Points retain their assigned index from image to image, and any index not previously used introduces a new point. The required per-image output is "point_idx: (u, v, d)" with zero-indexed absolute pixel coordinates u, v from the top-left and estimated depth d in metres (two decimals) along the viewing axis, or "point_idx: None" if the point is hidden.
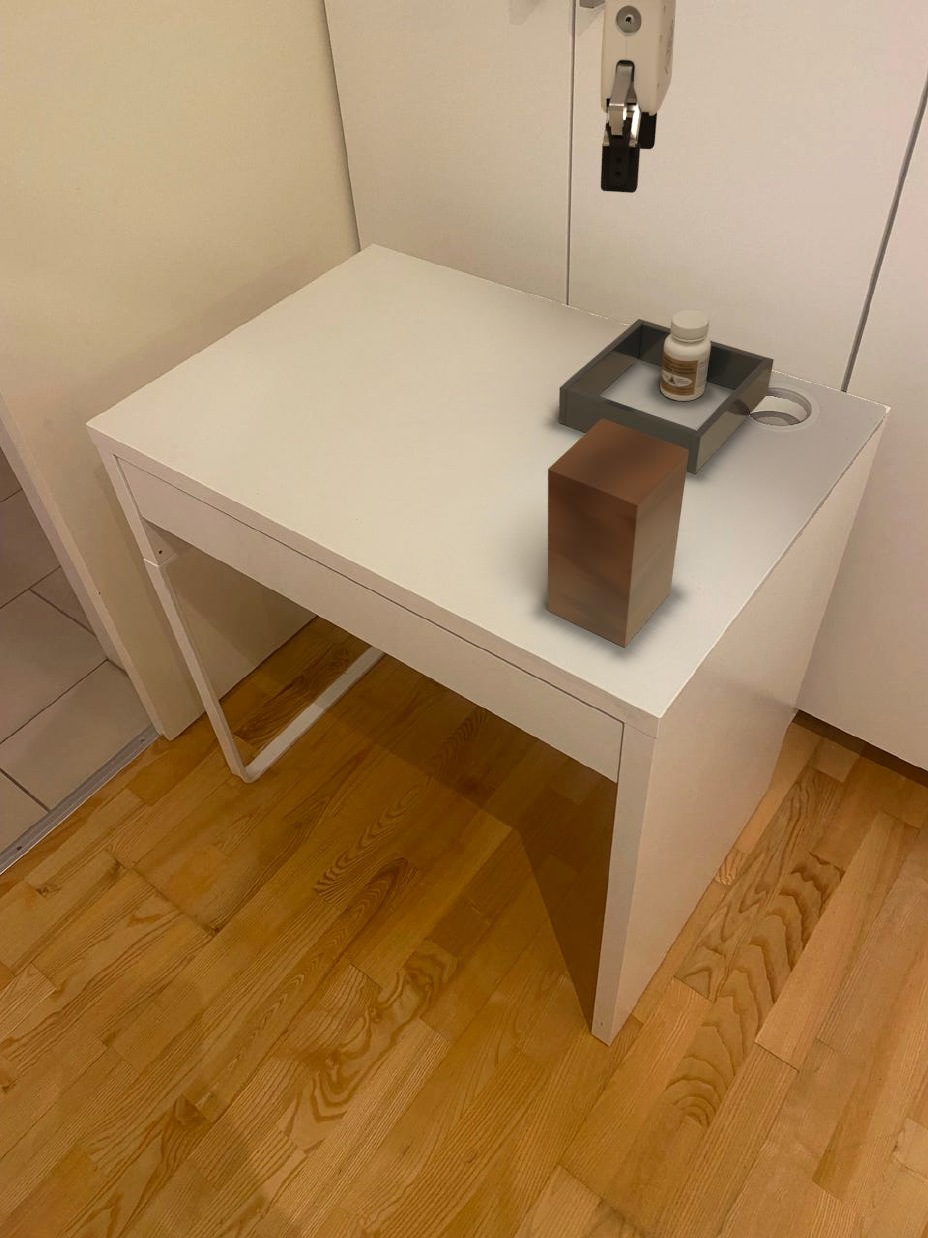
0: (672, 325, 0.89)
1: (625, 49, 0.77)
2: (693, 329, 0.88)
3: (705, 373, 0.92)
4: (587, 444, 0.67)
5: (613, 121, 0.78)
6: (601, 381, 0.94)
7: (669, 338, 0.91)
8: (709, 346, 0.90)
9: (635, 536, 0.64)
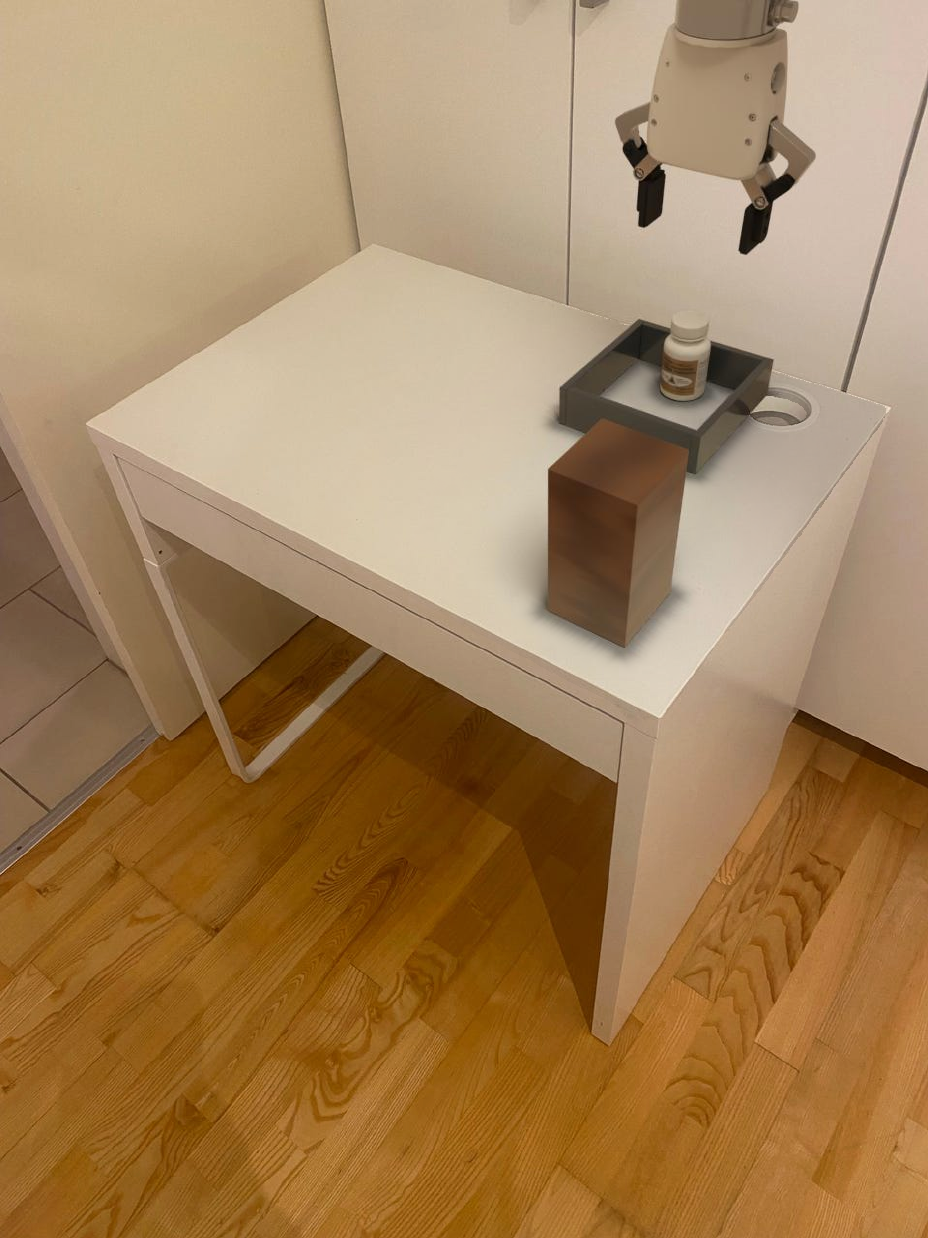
0: (672, 325, 0.89)
1: (775, 106, 0.73)
2: (693, 329, 0.88)
3: (705, 373, 0.92)
4: (587, 444, 0.67)
5: (802, 173, 0.75)
6: (601, 381, 0.94)
7: (669, 338, 0.91)
8: (709, 346, 0.90)
9: (635, 536, 0.64)
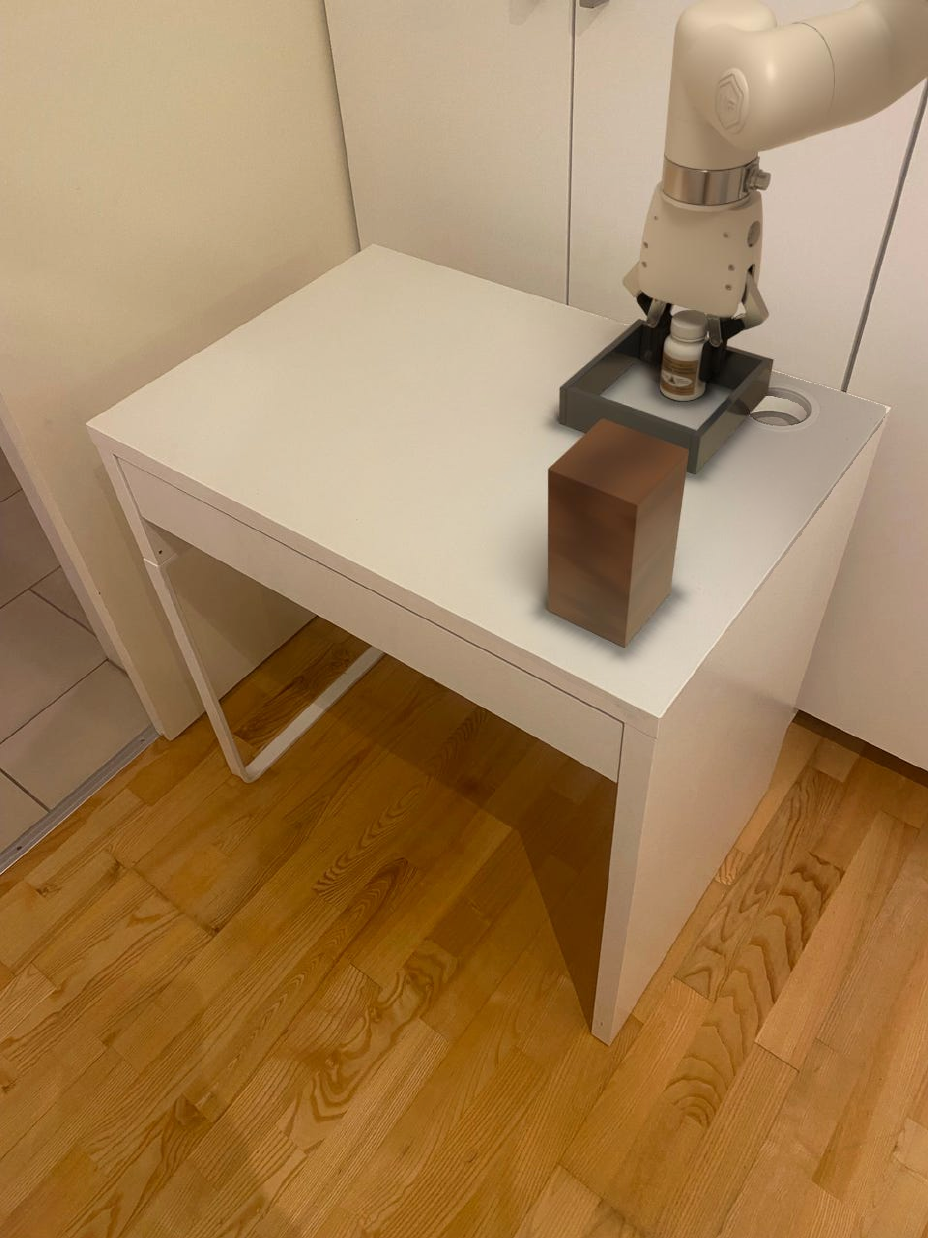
0: (672, 325, 0.89)
1: (752, 257, 0.82)
2: (693, 329, 0.88)
3: None
4: (587, 444, 0.67)
5: None
6: (601, 381, 0.94)
7: (669, 338, 0.91)
8: None
9: (635, 536, 0.64)
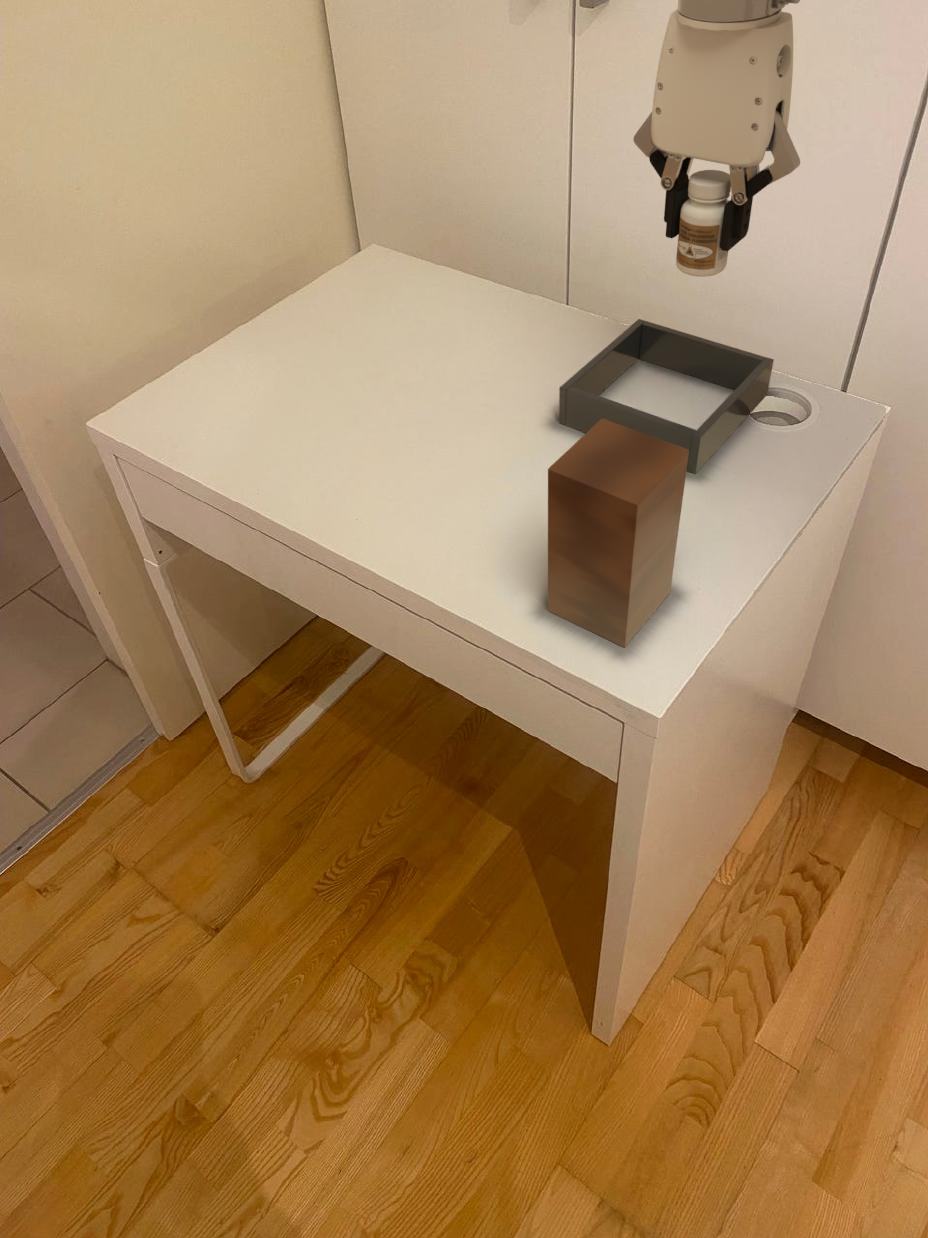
0: (690, 185, 0.80)
1: (781, 90, 0.72)
2: (714, 187, 0.78)
3: None
4: (587, 444, 0.67)
5: None
6: (601, 381, 0.94)
7: (687, 203, 0.81)
8: None
9: (635, 536, 0.64)
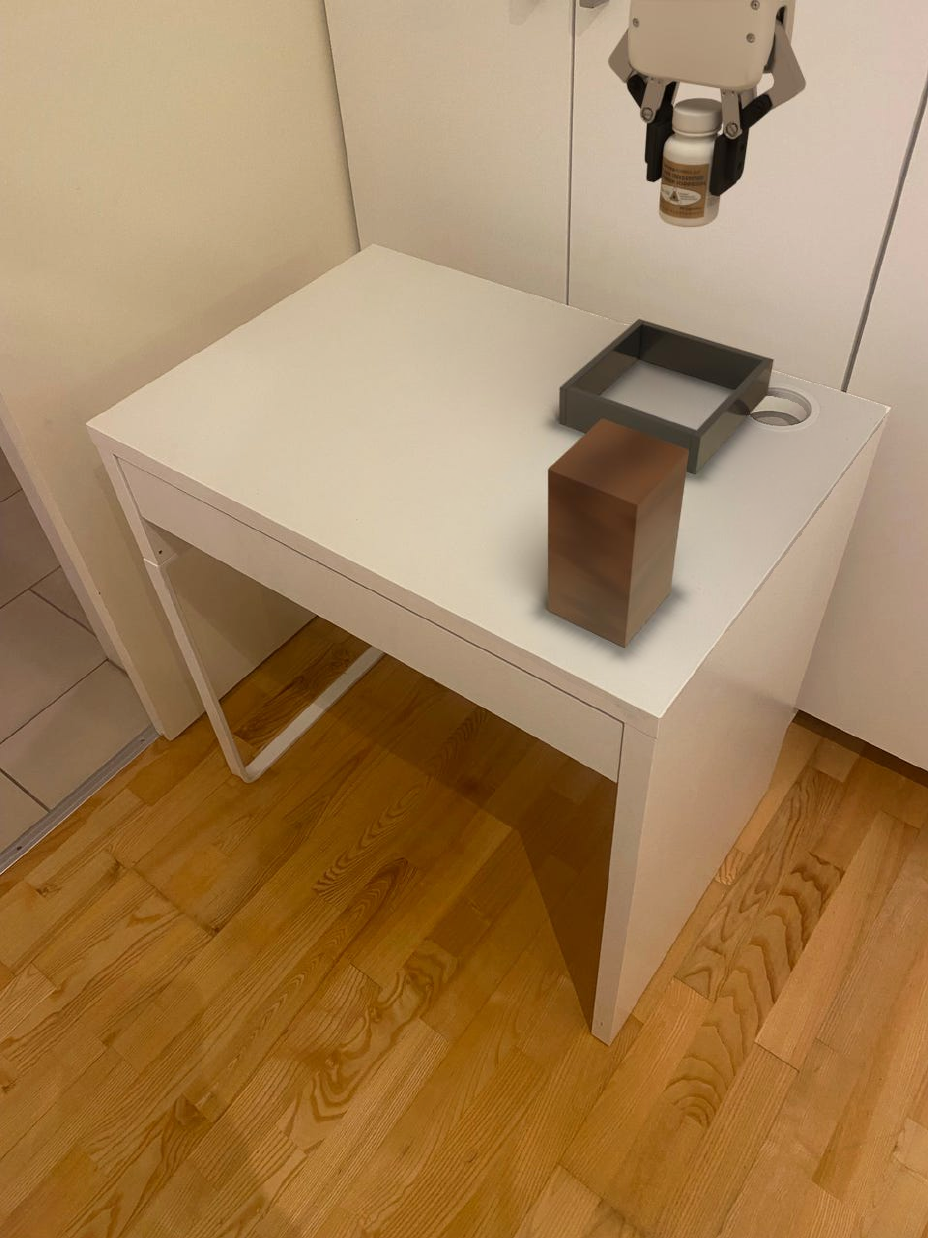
0: (674, 115, 0.67)
1: None
2: (703, 117, 0.65)
3: None
4: (587, 444, 0.67)
5: (783, 102, 0.63)
6: (601, 381, 0.94)
7: (671, 138, 0.68)
8: None
9: (635, 536, 0.64)
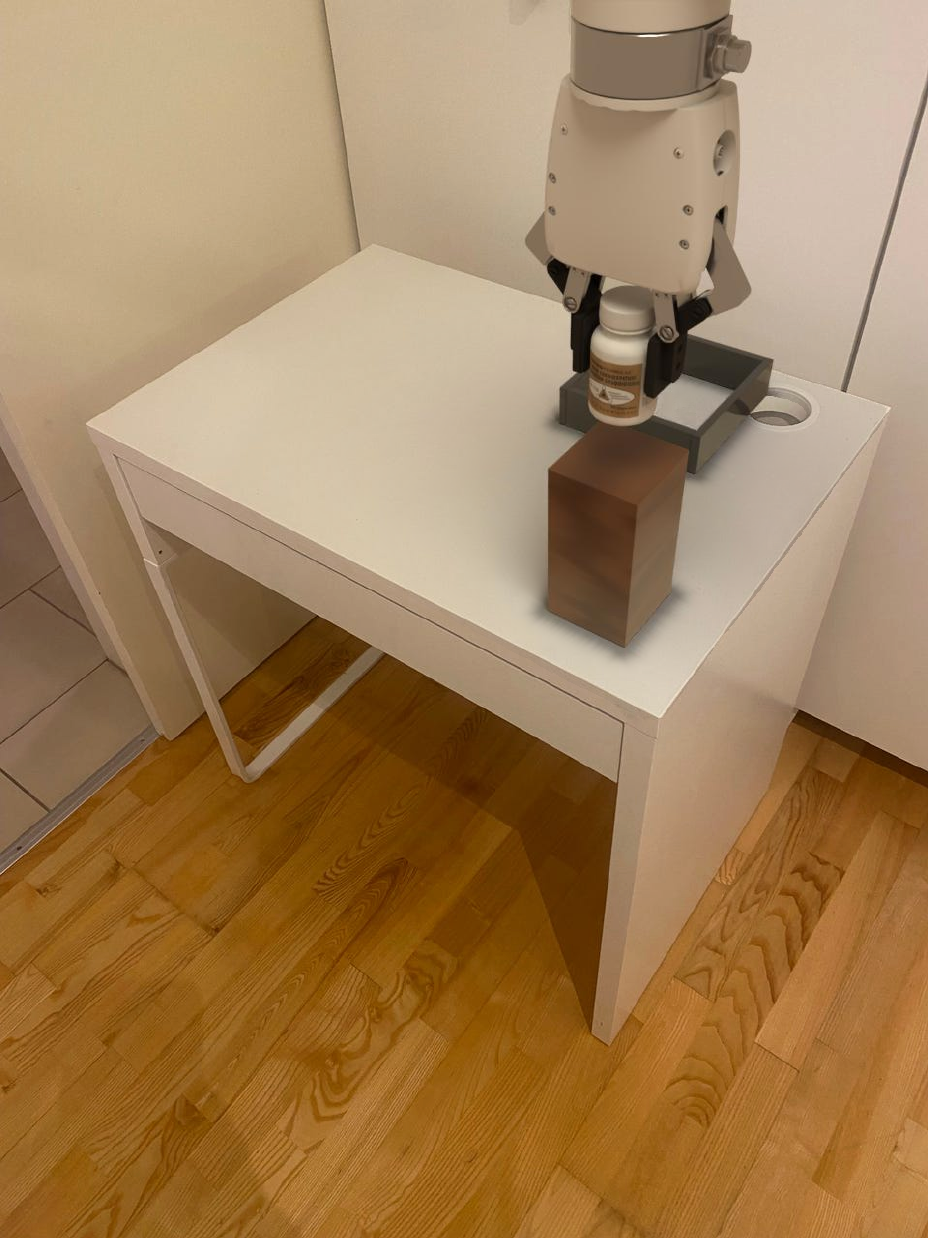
0: (601, 309, 0.57)
1: (722, 193, 0.49)
2: (633, 316, 0.56)
3: None
4: (587, 444, 0.67)
5: None
6: None
7: (599, 330, 0.58)
8: None
9: (635, 536, 0.64)
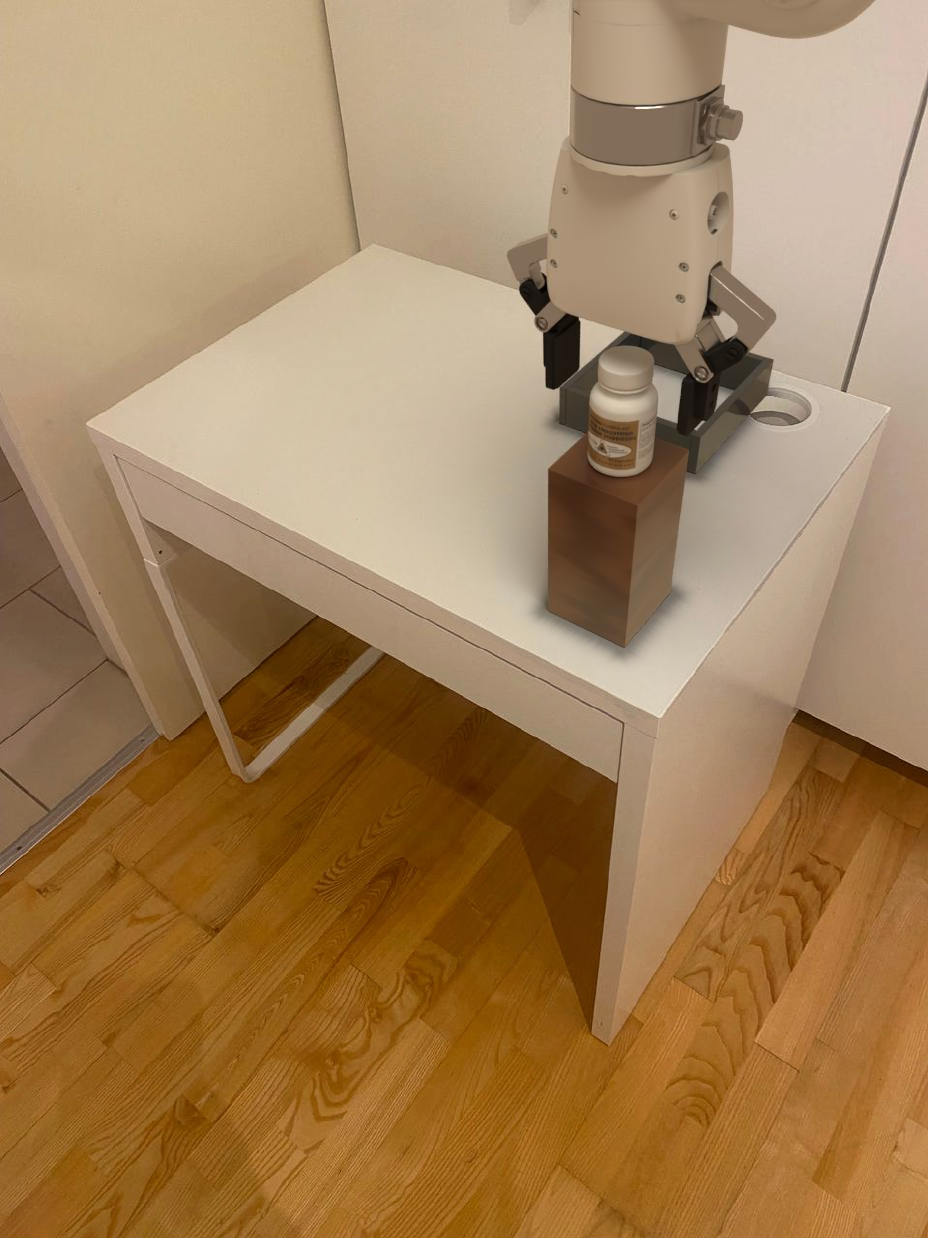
0: (599, 369, 0.60)
1: (716, 250, 0.51)
2: (630, 376, 0.59)
3: (651, 438, 0.62)
4: (587, 444, 0.67)
5: (758, 340, 0.53)
6: None
7: (597, 387, 0.61)
8: (655, 400, 0.61)
9: (635, 536, 0.64)
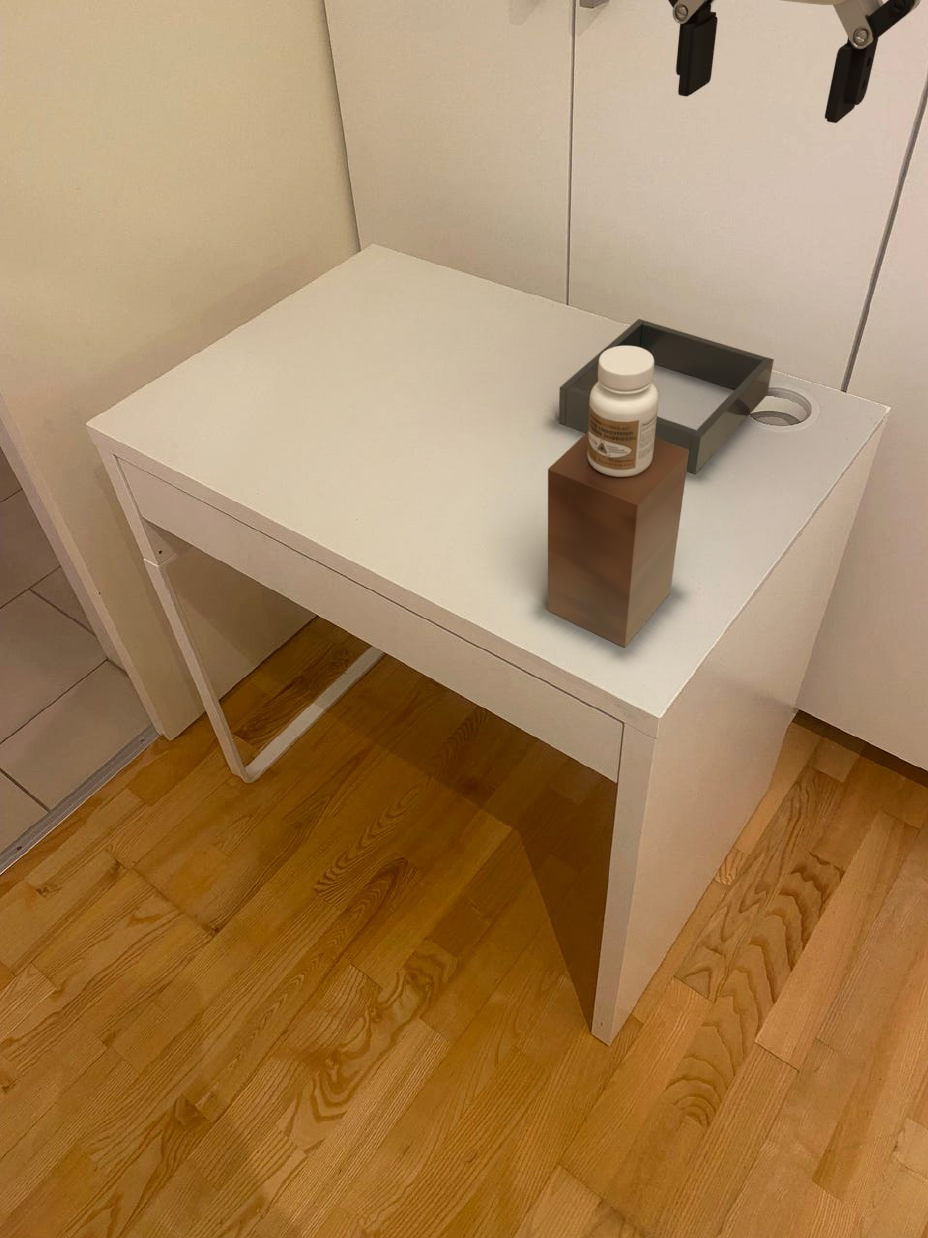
0: (599, 369, 0.60)
1: None
2: (630, 376, 0.59)
3: (651, 438, 0.62)
4: (587, 444, 0.67)
5: None
6: None
7: (597, 387, 0.61)
8: (655, 400, 0.61)
9: (635, 536, 0.64)
